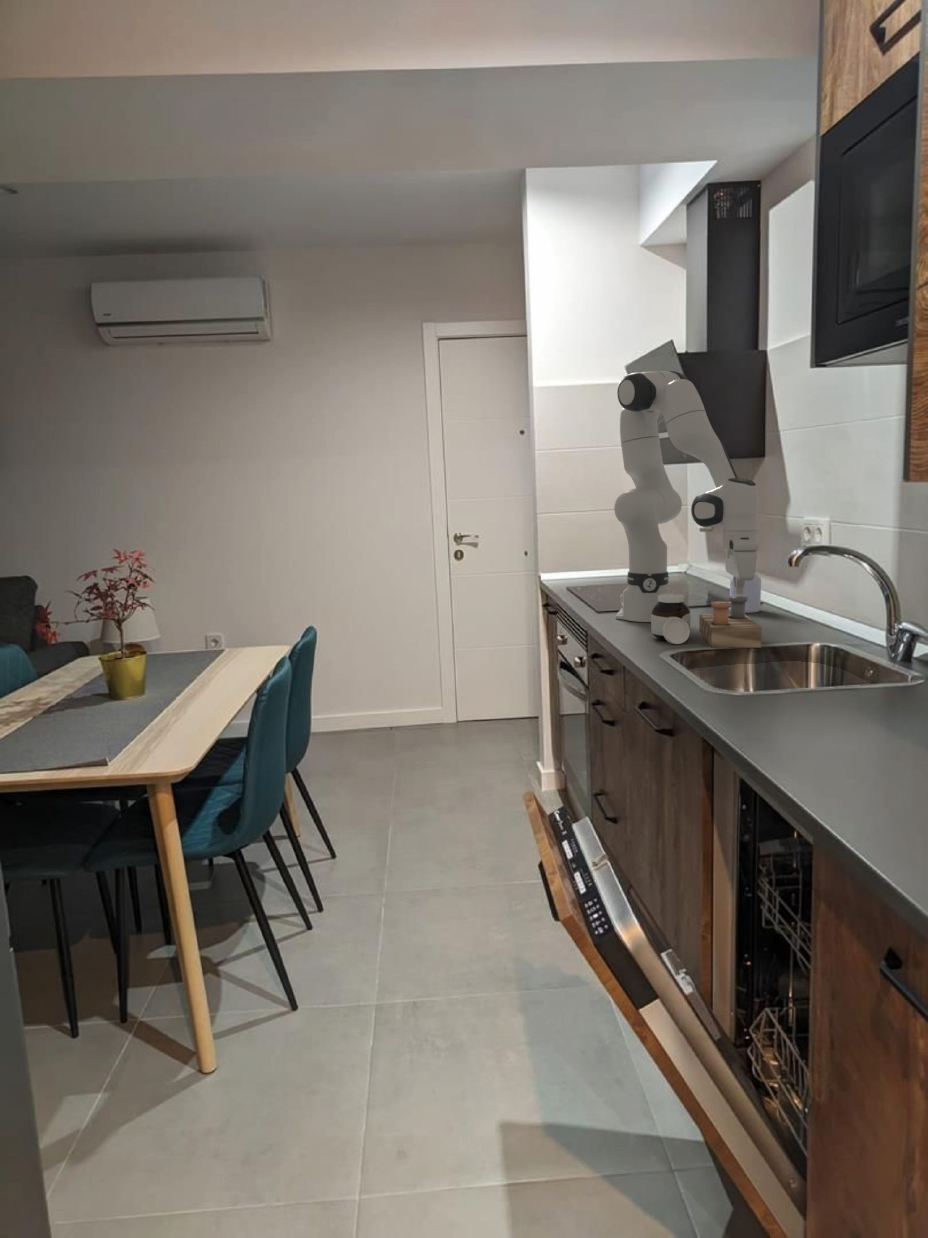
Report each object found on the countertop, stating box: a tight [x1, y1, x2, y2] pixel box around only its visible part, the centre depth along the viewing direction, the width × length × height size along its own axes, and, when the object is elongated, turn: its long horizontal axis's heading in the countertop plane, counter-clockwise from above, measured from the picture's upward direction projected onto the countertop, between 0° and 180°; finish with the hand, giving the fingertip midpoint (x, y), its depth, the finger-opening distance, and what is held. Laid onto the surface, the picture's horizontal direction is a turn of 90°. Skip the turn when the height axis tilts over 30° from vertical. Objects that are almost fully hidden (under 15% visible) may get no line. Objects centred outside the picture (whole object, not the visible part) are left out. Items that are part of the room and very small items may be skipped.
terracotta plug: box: [710, 600, 731, 626], centre depth 216 cm, size 5×5×7 cm
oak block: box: [698, 613, 763, 649], centre depth 221 cm, size 20×12×5 cm, turn 173°
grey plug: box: [728, 595, 748, 619], centre depth 224 cm, size 5×5×7 cm
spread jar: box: [650, 593, 691, 645], centre depth 221 cm, size 12×11×12 cm
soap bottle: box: [728, 551, 762, 614], centre depth 261 cm, size 9×9×25 cm
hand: (738, 593), depth 223 cm, fingers closed
